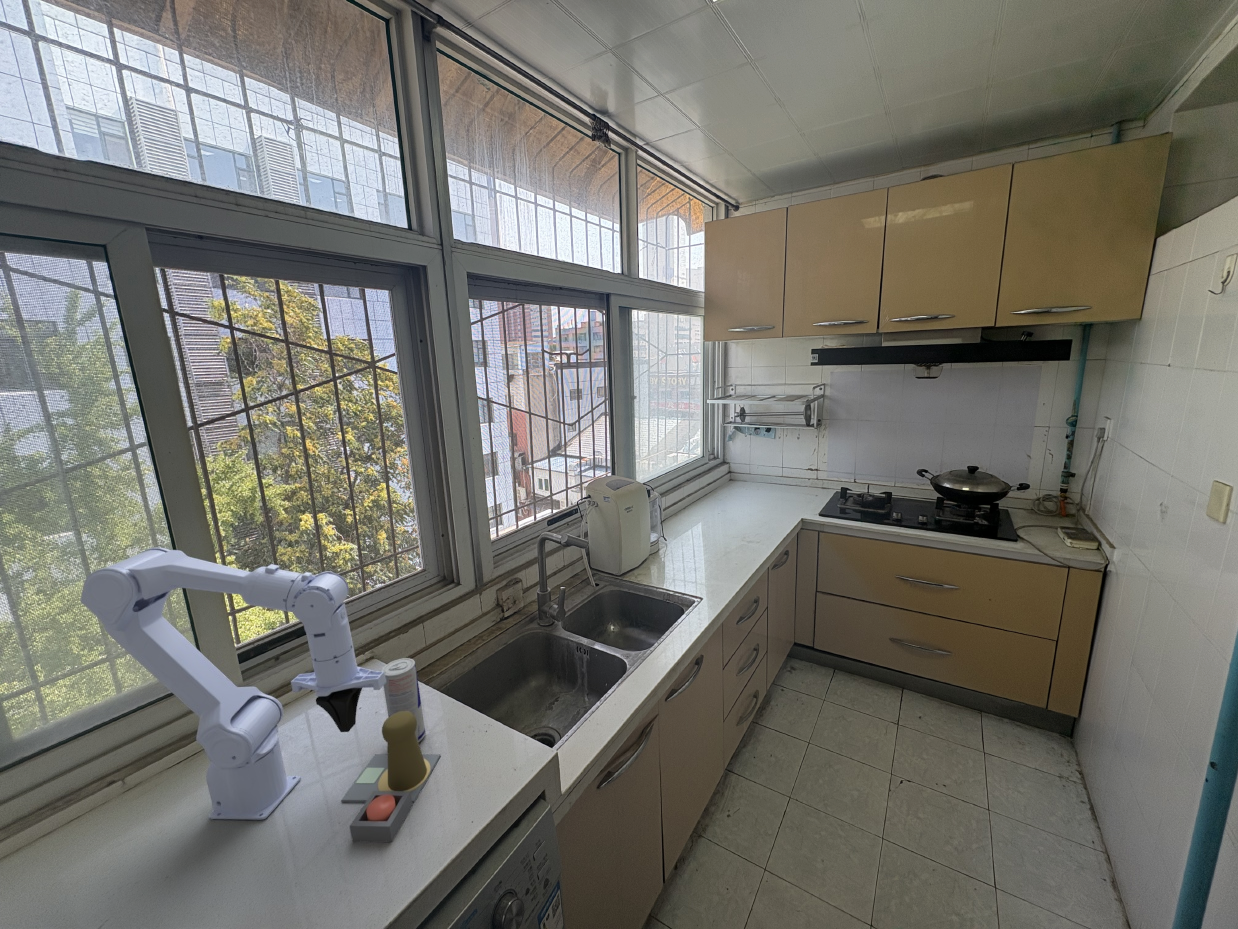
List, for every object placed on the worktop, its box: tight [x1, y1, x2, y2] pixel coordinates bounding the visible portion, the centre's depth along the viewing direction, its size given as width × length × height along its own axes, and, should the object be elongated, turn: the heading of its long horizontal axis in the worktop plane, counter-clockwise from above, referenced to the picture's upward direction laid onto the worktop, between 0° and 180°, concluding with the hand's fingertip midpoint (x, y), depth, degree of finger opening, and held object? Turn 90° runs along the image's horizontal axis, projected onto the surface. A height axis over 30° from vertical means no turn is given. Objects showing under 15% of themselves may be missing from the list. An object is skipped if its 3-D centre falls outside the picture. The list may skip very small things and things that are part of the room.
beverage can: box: [380, 657, 426, 744], centre depth 89 cm, size 6×6×15 cm
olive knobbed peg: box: [381, 711, 427, 791], centre depth 80 cm, size 6×6×11 cm
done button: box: [366, 794, 396, 821], centre depth 73 cm, size 4×4×2 cm
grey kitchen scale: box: [340, 753, 441, 804], centre depth 81 cm, size 12×10×1 cm
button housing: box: [349, 791, 413, 843], centre depth 73 cm, size 6×6×3 cm
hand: (348, 727), depth 79 cm, fingers closed
